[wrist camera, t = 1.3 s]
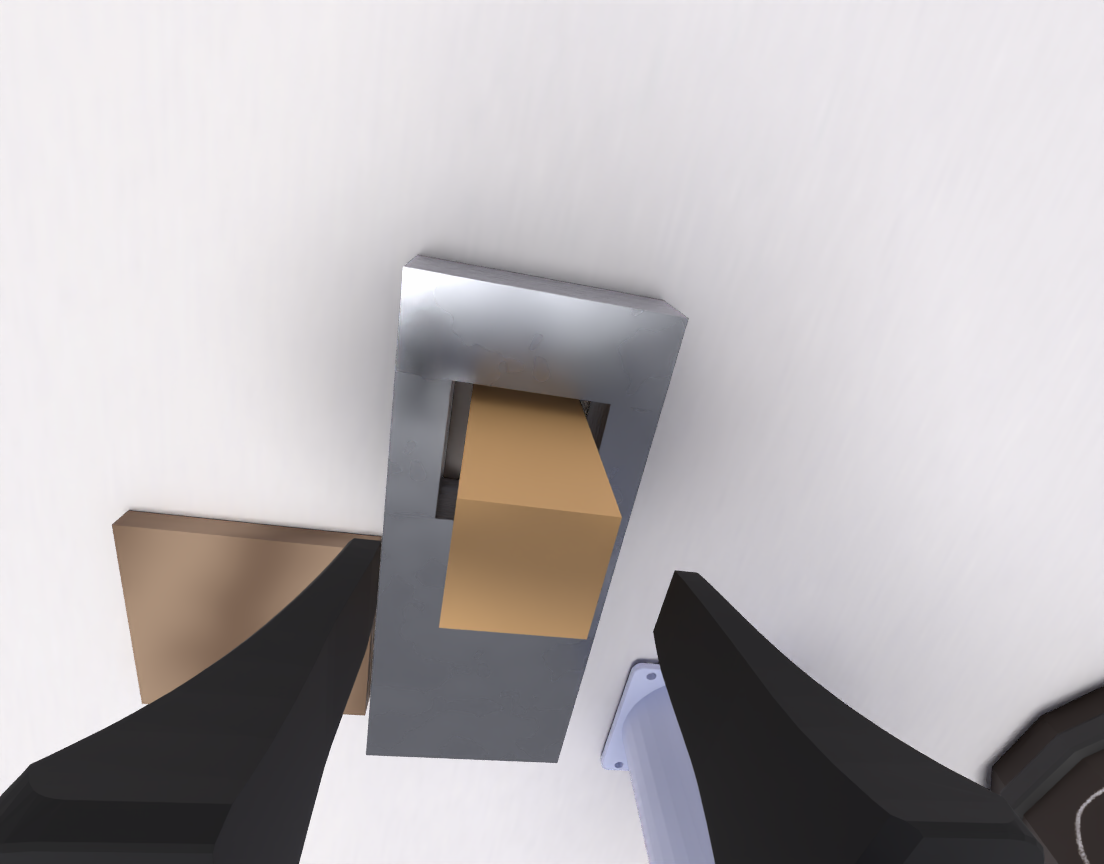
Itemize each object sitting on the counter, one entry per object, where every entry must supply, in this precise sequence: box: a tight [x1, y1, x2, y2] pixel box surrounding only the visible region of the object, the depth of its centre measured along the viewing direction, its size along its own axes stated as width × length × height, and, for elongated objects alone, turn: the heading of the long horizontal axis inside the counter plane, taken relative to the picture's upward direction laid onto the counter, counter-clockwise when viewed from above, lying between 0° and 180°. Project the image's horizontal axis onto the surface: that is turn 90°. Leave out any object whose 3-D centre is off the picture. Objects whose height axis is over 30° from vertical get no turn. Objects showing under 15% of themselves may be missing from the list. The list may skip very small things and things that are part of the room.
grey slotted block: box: [366, 255, 689, 763], centre depth 22 cm, size 9×22×3 cm, turn 169°
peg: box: [439, 384, 622, 639], centre depth 18 cm, size 4×4×9 cm
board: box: [112, 511, 381, 715], centre depth 24 cm, size 10×10×1 cm
